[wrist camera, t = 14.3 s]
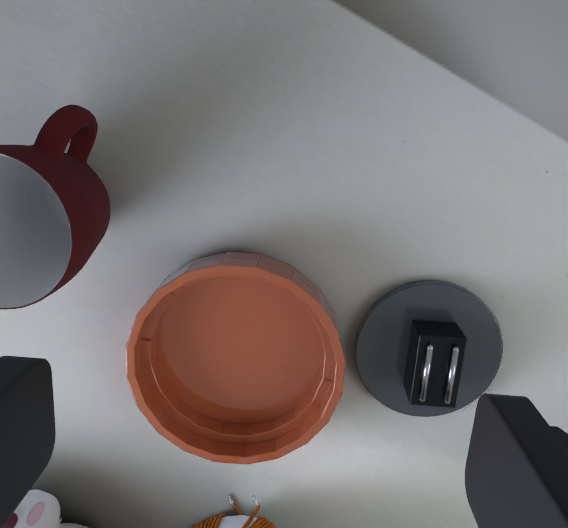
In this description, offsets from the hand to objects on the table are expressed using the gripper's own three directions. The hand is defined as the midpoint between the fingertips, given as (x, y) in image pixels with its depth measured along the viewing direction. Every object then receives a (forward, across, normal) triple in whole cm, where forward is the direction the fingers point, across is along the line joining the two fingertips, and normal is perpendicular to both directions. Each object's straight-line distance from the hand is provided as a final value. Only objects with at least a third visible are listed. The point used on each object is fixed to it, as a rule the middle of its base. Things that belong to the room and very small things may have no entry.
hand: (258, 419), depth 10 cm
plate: (+26, -10, +10) cm, 30 cm away
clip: (+25, -10, +10) cm, 29 cm away
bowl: (+26, +3, +11) cm, 28 cm away
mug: (+26, +14, 0) cm, 30 cm away
